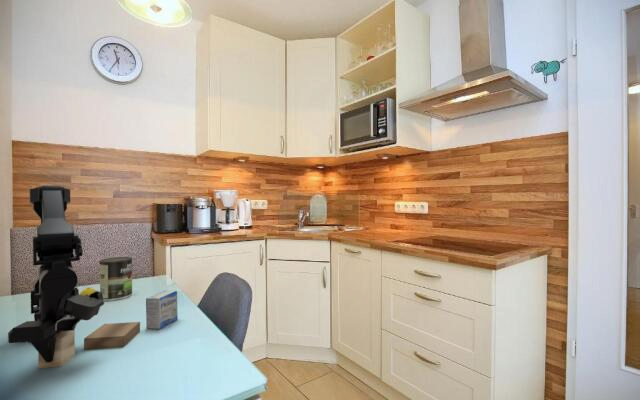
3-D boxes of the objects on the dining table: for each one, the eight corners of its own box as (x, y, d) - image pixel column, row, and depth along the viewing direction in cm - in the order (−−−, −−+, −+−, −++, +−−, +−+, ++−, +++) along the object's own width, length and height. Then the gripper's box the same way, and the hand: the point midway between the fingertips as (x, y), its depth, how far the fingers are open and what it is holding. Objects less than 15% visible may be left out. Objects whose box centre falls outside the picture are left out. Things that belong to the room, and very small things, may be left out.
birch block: (38, 368, 67) (38, 340, 67) (52, 357, 71) (52, 331, 71) (61, 366, 68) (61, 338, 68) (74, 356, 72) (74, 330, 72)
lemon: (78, 316, 96) (78, 291, 96) (77, 312, 101) (77, 287, 101) (100, 312, 100) (99, 287, 100) (98, 307, 104) (97, 284, 104)
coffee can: (138, 292, 121) (138, 256, 121) (121, 301, 111) (120, 261, 111) (112, 292, 122) (111, 256, 122) (92, 301, 111) (92, 261, 111)
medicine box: (159, 329, 86) (159, 298, 86) (145, 328, 87) (145, 297, 87) (178, 319, 94) (177, 290, 94) (165, 318, 95) (164, 289, 95)
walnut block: (84, 350, 75) (84, 338, 75) (104, 334, 84) (104, 323, 84) (124, 348, 77) (124, 336, 77) (140, 332, 86) (139, 321, 86)
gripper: (69, 297, 61) (70, 376, 61) (116, 274, 80) (116, 335, 80) (5, 300, 60) (6, 381, 60) (68, 276, 78) (68, 338, 78)
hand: (57, 356), depth 69 cm, fingers closed on birch block, 4 cm apart
